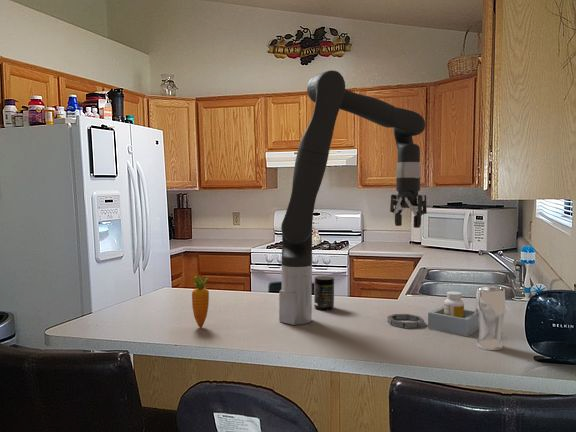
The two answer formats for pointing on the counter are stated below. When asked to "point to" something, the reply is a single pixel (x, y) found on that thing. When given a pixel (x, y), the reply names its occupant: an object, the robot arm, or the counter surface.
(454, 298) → the supplement bottle
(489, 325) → the beer glass
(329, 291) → the supplement container
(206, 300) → the carrot
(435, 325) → the bin
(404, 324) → the collar
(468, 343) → the counter surface
